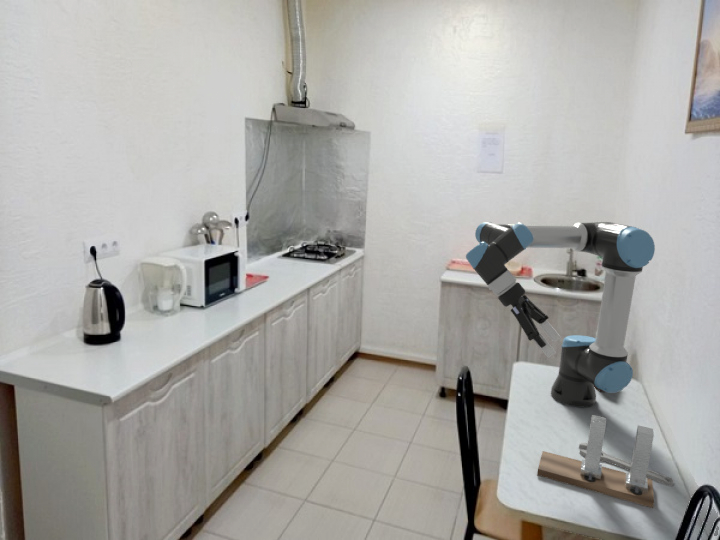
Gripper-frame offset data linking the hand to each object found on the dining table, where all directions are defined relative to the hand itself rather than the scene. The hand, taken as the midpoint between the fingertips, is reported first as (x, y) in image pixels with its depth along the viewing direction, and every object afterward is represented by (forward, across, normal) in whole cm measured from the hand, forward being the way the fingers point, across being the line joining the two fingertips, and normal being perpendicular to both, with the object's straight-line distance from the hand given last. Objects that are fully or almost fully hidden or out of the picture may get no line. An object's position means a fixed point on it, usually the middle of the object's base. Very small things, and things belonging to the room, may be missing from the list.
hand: (555, 347), depth 152 cm
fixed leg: (+38, +12, -4) cm, 40 cm away
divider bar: (+33, +11, -12) cm, 37 cm away
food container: (+32, -56, -13) cm, 66 cm away
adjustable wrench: (+38, 0, -8) cm, 39 cm away
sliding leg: (+30, +12, -11) cm, 34 cm away
